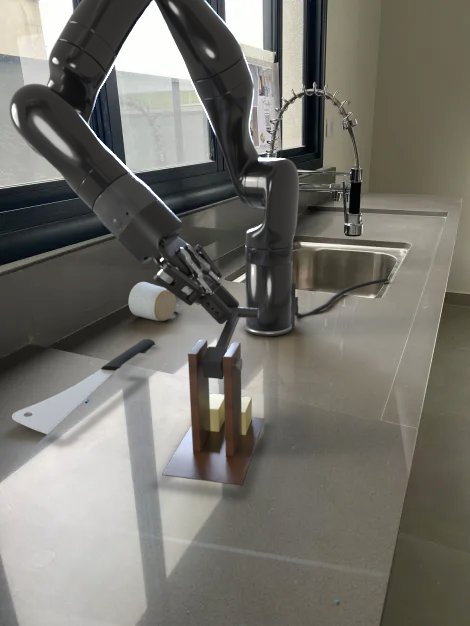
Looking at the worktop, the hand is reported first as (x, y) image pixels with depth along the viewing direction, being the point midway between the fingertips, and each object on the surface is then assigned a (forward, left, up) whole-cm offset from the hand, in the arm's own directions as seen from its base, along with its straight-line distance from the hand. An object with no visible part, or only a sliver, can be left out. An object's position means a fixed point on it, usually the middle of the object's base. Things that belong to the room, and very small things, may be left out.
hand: (230, 314), depth 65 cm
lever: (+3, +3, -2) cm, 5 cm away
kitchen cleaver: (+9, -20, -15) cm, 26 cm away
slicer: (+7, +6, -15) cm, 17 cm away
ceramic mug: (-14, -44, -15) cm, 48 cm away
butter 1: (+5, +2, -13) cm, 14 cm away
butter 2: (+3, +5, -13) cm, 14 cm away
